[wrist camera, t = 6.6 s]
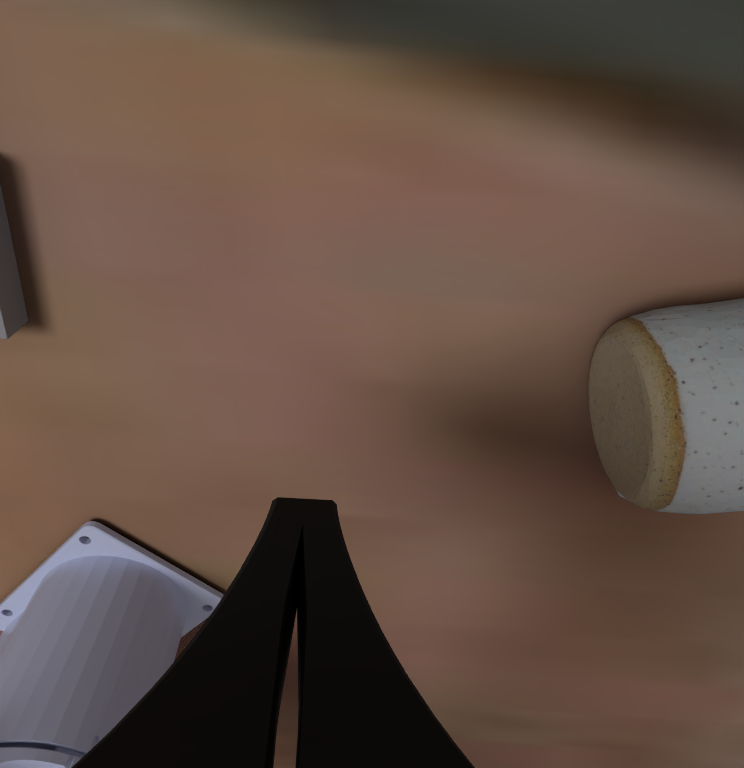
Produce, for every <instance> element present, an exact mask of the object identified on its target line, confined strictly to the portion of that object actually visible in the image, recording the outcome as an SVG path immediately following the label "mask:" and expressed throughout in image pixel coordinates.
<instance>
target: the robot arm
mask: <svg viewBox="0 0 744 768" xmlns="http://www.w3.org/2000/svg"><path fill="white" fill-rule="evenodd" d="M85 536H86V537H85ZM87 537H89V538H87ZM296 611H297V633H298V700H299V712H298V739H297V754H296V768H475V767H474V766H473V765H472V764H471V762H470V761H469V760H468V759H467V757H466V756H465V755H464V754H463V752H462V751H461V750H460V749H459V747H458V746H457V745H456V744H455V742H454V741H453V740H452V738H451V737H450V736H449V734H448V733H447V732H446V730H445V729H444V728H443V726H442V725H441V724H440V722H439V721H438V720H437V718H436V717H435V716H434V714H433V713H432V711H431V710H430V708H429V707H428V705H427V704H426V702H425V701H424V699H423V698H422V696H421V695H420V693H419V692H418V690H417V689H416V687H415V686H414V684H413V683H412V681H411V680H410V678H409V677H408V675H407V674H406V672H405V670H404V669H403V667H402V665H401V664H400V662H399V660H398V659H397V657H396V655H395V654H394V652H393V650H392V648H391V646H390V645H389V643H388V641H387V639H386V637H385V636H384V634H383V632H382V630H381V628H380V626H379V624H378V622H377V620H376V618H375V616H374V614H373V612H372V610H371V607H370V605H369V603H368V601H367V599H366V597H365V594H364V592H363V590H362V587H361V585H360V583H359V580H358V578H357V575H356V572H355V570H354V567H353V564H352V562H351V559H350V556H349V553H348V551H347V547H346V544H345V541H344V538H343V534H342V530H341V527H340V522H339V517H338V512H337V504H336V503H335V502H334V501H333V500H317V499H298V498H279V497H278V498H276V499H275V500H273V501H272V504H271V507H270V510H269V513H268V515H267V518H266V520H265V523H264V525H263V527H262V529H261V531H260V534H259V536H258V538H257V540H256V542H255V544H254V546H253V547H252V549H251V551H250V553H249V554H248V556H247V558H246V560H245V562H244V563H243V565H242V567H241V569H240V570H239V572H238V574H237V575H236V577H235V579H234V580H233V582H232V583H231V585H230V586H229V588H228V589H227V591H226V593H225V594H224V595H223V594H222V593H221V592H219V591H217V590H215V589H214V588H212V587H210V586H208V585H207V584H205V583H203V582H201V581H200V580H198V579H196V578H194V577H193V576H191V575H189V574H188V573H186V572H184V571H182V570H181V569H179V568H177V567H175V566H174V565H172V564H170V563H168V562H167V561H165V560H163V559H161V558H160V557H158V556H156V555H154V554H153V553H151V552H149V551H148V550H146V549H144V548H142V547H141V546H139V545H137V544H135V543H134V542H132V541H130V540H128V539H127V538H125V537H123V536H121V535H120V534H118V533H116V532H115V531H113V530H111V529H109V528H108V527H106V526H104V525H102V524H101V523H98V522H95V521H89V522H86V523H84V524H83V525H82V526H81V527H80V528H79V529H78V530H77V531H76V532H75V533H74V534H73V535H72V536H71V537H70V538H69V539H68V540H67V541H65V542H64V543H63V544H62V545H61V546H60V547H59V548H58V549H57V550H56V551H55V552H54V553H53V554H52V555H51V556H50V557H49V558H48V559H47V560H45V561H44V562H43V563H42V564H41V565H40V566H39V567H38V568H37V569H36V570H35V571H34V572H33V573H32V574H31V575H30V576H29V577H28V578H27V579H25V580H24V581H23V582H22V583H21V584H20V585H19V586H18V587H17V588H16V589H15V590H14V591H13V592H12V593H11V594H10V595H9V596H8V597H7V598H5V599H4V600H3V601H2V602H1V603H0V630H1V631H3V632H2V634H1V636H0V768H273V765H274V754H275V743H276V732H277V724H278V716H279V709H280V703H281V697H282V691H283V686H284V680H285V674H286V668H287V663H288V657H289V651H290V645H291V640H292V634H293V628H294V622H295V617H296ZM208 617H209V618H208ZM207 618H208V619H207ZM205 619H207V620H206V622H205V623H204V625H203V626H202V627H201V629H200V630H199V631H198V633H197V634H196V635H195V636H194V638H193V639H192V640H191V642H190V643H189V644H188V645H187V647H186V648H185V649H184V650H183V652H182V653H181V654H180V655H179V656H178V658H177V659H176V660H175V657H176V653H177V650H178V646H179V642H180V639H181V637H183V636H184V635H185V634H187V633H188V632H189V631H191V630H192V629H193V628H195V627H196V626H197V625H199V624H200V623H201V622H203V621H204V620H205Z"/></svg>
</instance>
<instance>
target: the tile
mask: <svg viewBox="0 0 744 768" xmlns="http://www.w3.org/2000/svg"><path fill="white" fill-rule="evenodd" d="M27 322H28V317H27V312H26V307H25V302H24V297H23V292H22V287H21V282H20V277H19V272H18V267H17V263H16V258H15V253H14V248H13V243H12V238H11V233H10V228H9V223H8V218H7V213H6V209H5V204H4V199H3V194H2V189H1V184H0V339H8V338H9V337H11V336H12V335H13V334H14V333H15V332H16V331H18V330H19V329H20V328H21V327H22V326H23V325H25V324H26V323H27Z"/></svg>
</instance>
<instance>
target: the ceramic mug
mask: <svg viewBox="0 0 744 768" xmlns="http://www.w3.org/2000/svg"><path fill="white" fill-rule="evenodd" d="M588 393H589V411H590V419H591V425H592V430H593V436H594V441H595V444H596V448H597V451H598V454H599V457H600V460H601V463H602V465H603V468H604V470H605V472H606V474H607V476H608V478H609V479H610V481H611V483H612V484H613V486H614V487H615V489H616V491H617V493H618V495H619V496H620V497H622V498H624V499H626V500H628V501H629V502H630V503H632V504H634V505H636V506H638V507H640V508H643V509H648V510H654V511H659V512H670V513H680V514H709V513H723V512H735V511H744V298H741V299H735V300H728V301H720V302H713V303H706V304H695V305H681V306H673V307H667V308H661V309H654V310H651V311H647V312H644V313H640V314H636V315H633V316H630V317H627V318H625V319H622V320H620V321H618V322H616V323H615V324H613V325H611V326H610V327H609V329H608V330H607V331H606V332H605V333H604V335H603V336H602V338H601V339H600V341H599V342H598V344H597V346H596V347H595V350H594V353H593V357H592V361H591V365H590V374H589V383H588Z"/></svg>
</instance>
